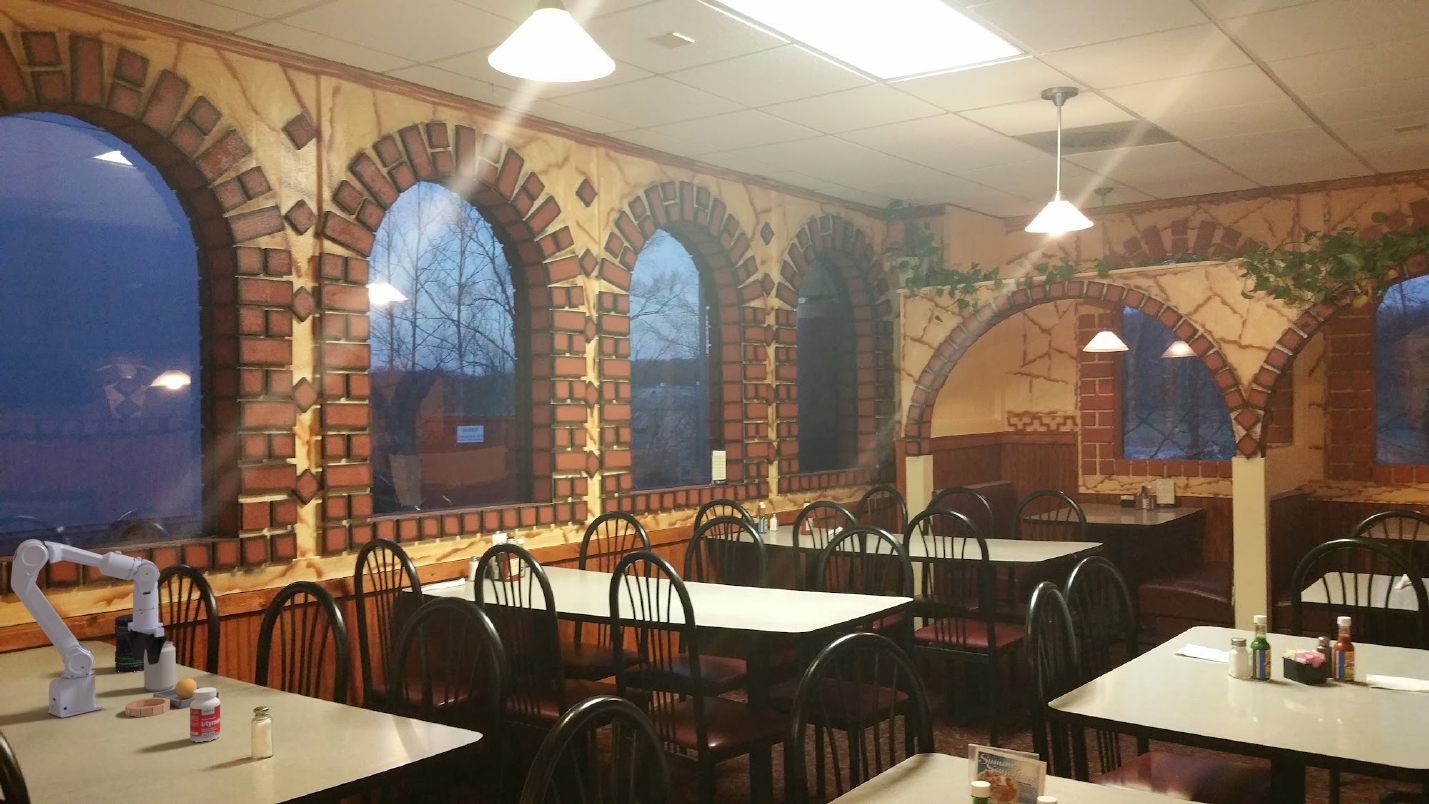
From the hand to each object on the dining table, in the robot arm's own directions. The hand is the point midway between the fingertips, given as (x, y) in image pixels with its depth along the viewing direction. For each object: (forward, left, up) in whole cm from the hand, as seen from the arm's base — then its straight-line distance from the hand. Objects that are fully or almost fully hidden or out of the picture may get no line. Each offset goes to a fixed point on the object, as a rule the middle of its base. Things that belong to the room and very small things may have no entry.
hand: (146, 661), depth 273 cm
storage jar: (+15, +37, -10) cm, 41 cm away
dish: (-4, -10, -10) cm, 15 cm away
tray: (+6, -8, -10) cm, 14 cm away
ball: (+6, -8, -7) cm, 12 cm away
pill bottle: (-8, -43, -10) cm, 45 cm away
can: (+8, +9, -10) cm, 16 cm away
